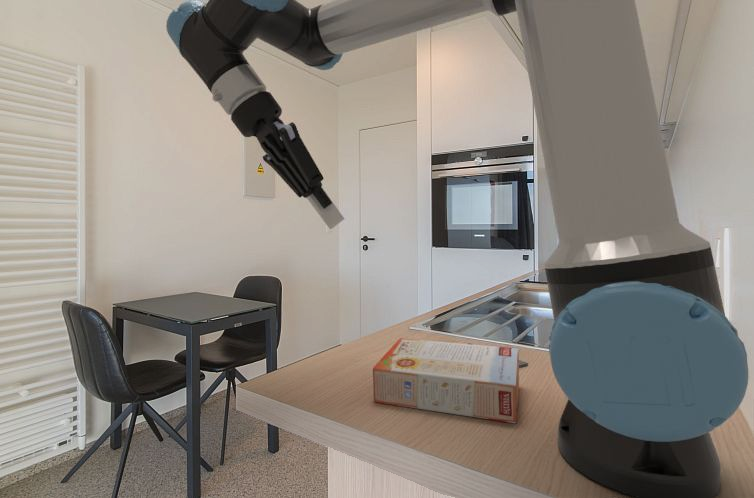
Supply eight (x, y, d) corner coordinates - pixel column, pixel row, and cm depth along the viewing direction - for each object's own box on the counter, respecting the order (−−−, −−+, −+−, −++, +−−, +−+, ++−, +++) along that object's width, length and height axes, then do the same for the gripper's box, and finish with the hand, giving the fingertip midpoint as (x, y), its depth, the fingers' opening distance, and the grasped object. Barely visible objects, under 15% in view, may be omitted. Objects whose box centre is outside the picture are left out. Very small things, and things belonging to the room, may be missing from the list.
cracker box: (372, 404, 60) (517, 426, 53) (370, 366, 60) (517, 383, 52) (400, 368, 73) (520, 381, 66) (399, 337, 73) (519, 346, 65)
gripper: (223, 130, 66) (308, 242, 71) (234, 93, 55) (335, 229, 59) (259, 111, 70) (338, 219, 74) (277, 72, 58) (369, 203, 62)
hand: (337, 223), depth 67 cm, fingers closed
